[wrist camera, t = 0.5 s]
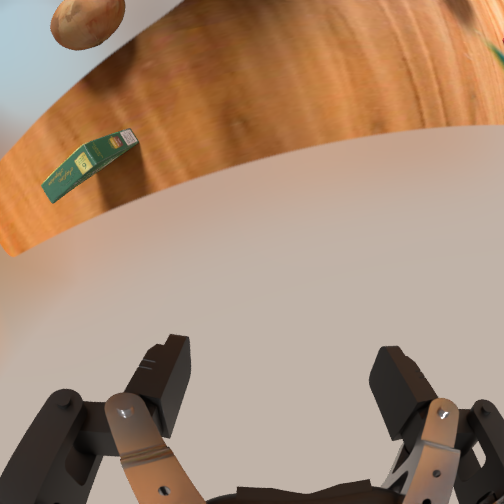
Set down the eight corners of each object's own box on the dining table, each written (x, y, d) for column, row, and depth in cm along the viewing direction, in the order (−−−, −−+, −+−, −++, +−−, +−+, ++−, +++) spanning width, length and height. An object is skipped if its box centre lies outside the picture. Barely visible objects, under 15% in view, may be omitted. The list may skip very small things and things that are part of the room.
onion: (119, -17, 18) (87, -38, 10) (147, 22, 23) (116, 3, 15) (68, 25, 21) (27, 17, 12) (91, 65, 25) (50, 63, 17)
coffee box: (132, 124, 31) (82, 142, 20) (141, 141, 32) (96, 166, 21) (91, 155, 33) (38, 186, 22) (100, 170, 34) (50, 206, 23)
